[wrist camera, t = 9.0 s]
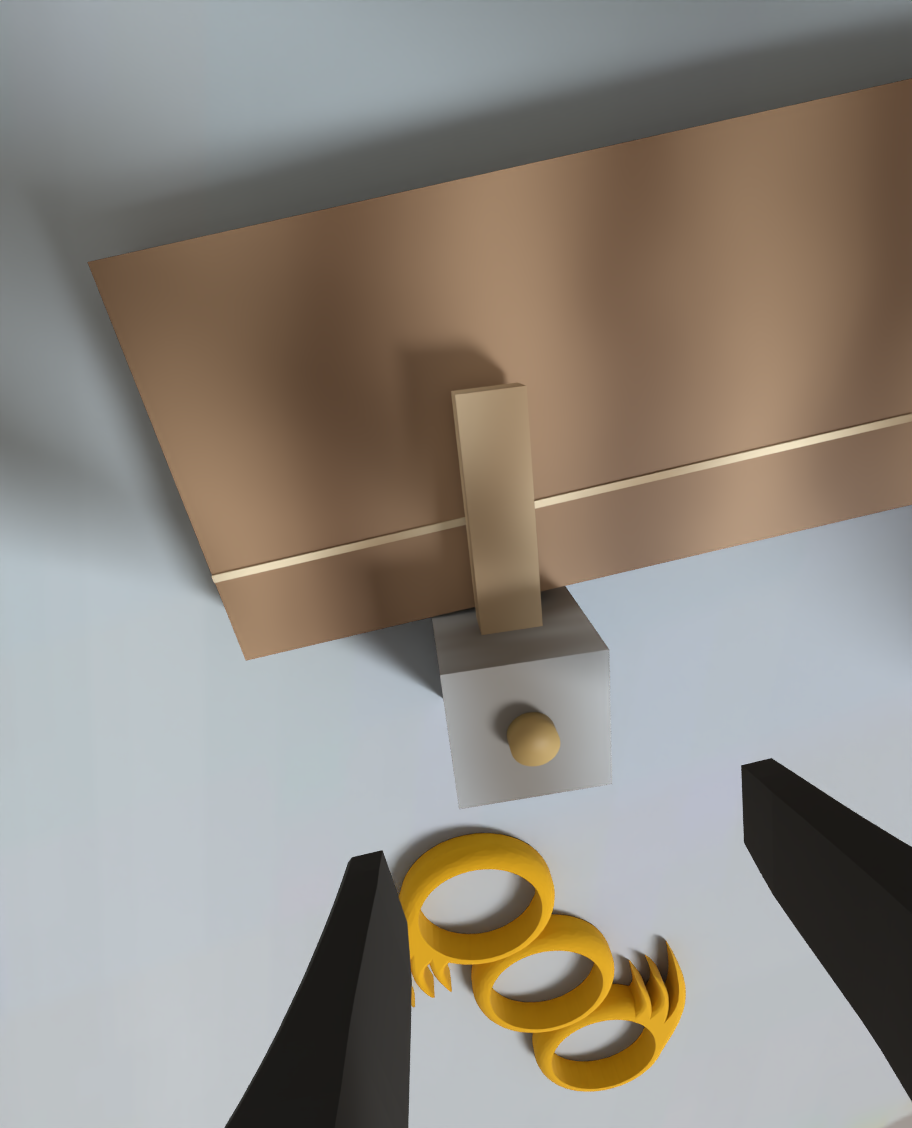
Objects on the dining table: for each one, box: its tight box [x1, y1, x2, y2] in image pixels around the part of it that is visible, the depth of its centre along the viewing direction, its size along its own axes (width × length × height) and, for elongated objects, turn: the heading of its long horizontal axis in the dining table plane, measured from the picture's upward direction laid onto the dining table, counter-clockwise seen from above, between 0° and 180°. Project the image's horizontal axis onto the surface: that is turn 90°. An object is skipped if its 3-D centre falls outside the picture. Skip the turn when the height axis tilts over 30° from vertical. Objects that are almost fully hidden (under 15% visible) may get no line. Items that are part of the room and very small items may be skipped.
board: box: [88, 78, 912, 660], centre depth 16 cm, size 24×10×2 cm, turn 102°
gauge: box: [432, 382, 612, 809], centre depth 15 cm, size 4×10×6 cm, turn 6°
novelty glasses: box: [398, 833, 686, 1091], centre depth 25 cm, size 17×2×10 cm
